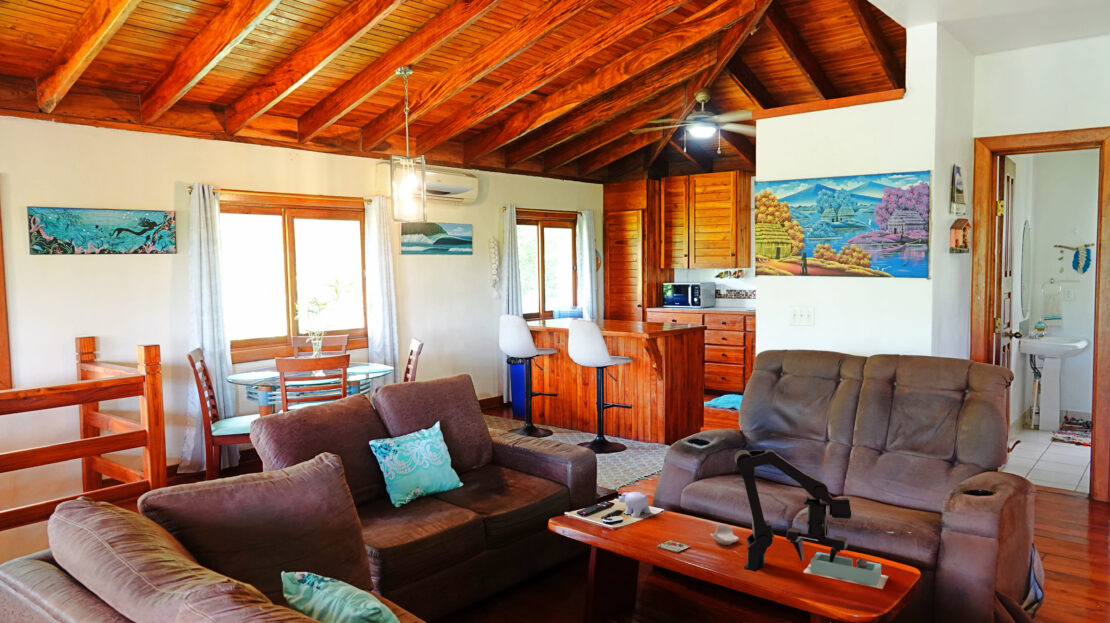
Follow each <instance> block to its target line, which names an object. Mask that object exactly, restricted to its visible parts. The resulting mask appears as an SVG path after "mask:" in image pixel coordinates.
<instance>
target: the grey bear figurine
mask: <svg viewBox="0 0 1110 623" xmlns="http://www.w3.org/2000/svg"><path fill="white" fill-rule="evenodd" d="M649 495H650V492H648V493H645V494H644V493H641V492H639V491H629V492H626V491H625V492H623V493H621V496H620V495H619V496H618V502H619V503H622V504H623V503H625V506H626V507H625V510H624V513H626V514H631V515H632V516H634V518H639V517H640V516H641V513H643V512H644V513H643V514H650V513H651V510H650V506H649V503H650V502H649V497H648V496H649ZM632 516H631V517H632Z"/></svg>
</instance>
